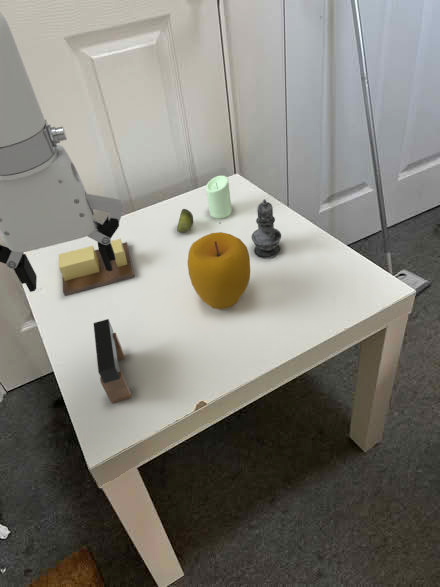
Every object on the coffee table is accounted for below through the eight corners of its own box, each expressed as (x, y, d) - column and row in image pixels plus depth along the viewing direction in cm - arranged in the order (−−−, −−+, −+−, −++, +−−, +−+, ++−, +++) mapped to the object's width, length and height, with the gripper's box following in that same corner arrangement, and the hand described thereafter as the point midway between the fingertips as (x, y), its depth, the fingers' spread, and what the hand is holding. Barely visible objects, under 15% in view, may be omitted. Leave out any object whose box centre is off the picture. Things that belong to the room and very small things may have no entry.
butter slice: (117, 267, 93) (113, 253, 90) (115, 254, 96) (110, 240, 93) (127, 264, 93) (123, 251, 90) (124, 251, 96) (120, 238, 94)
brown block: (111, 403, 70) (100, 382, 66) (105, 359, 77) (95, 337, 73) (131, 397, 71) (122, 375, 67) (124, 354, 77) (115, 332, 73)
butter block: (65, 281, 91) (58, 267, 89) (64, 267, 94) (58, 254, 92) (99, 272, 92) (94, 258, 90) (97, 258, 95) (92, 245, 93)
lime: (180, 238, 99) (176, 219, 95) (172, 227, 102) (167, 208, 99) (198, 231, 100) (195, 212, 96) (190, 220, 103) (186, 201, 100)
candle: (216, 221, 102) (211, 189, 96) (206, 211, 105) (201, 179, 100) (235, 213, 103) (232, 181, 98) (225, 203, 107) (221, 172, 101)
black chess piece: (247, 247, 94) (243, 197, 86) (272, 237, 95) (270, 187, 87) (261, 263, 90) (257, 211, 82) (287, 252, 91) (286, 201, 83)
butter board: (64, 295, 90) (62, 292, 89) (63, 262, 97) (61, 258, 97) (134, 277, 91) (133, 273, 91) (127, 245, 99) (126, 242, 98)
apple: (265, 303, 82) (261, 247, 73) (211, 329, 79) (201, 273, 70) (234, 270, 89) (228, 215, 80) (185, 292, 86) (172, 238, 77)
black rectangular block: (113, 404, 70) (98, 372, 64) (107, 355, 77) (93, 322, 71) (129, 399, 70) (115, 367, 65) (121, 351, 77) (108, 318, 72)
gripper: (96, 116, 50) (134, 240, 62) (-66, 152, 48) (5, 273, 60) (102, 145, 45) (142, 275, 57) (-80, 186, 43) (0, 312, 55)
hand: (71, 274), depth 58 cm, fingers open, 9 cm apart
